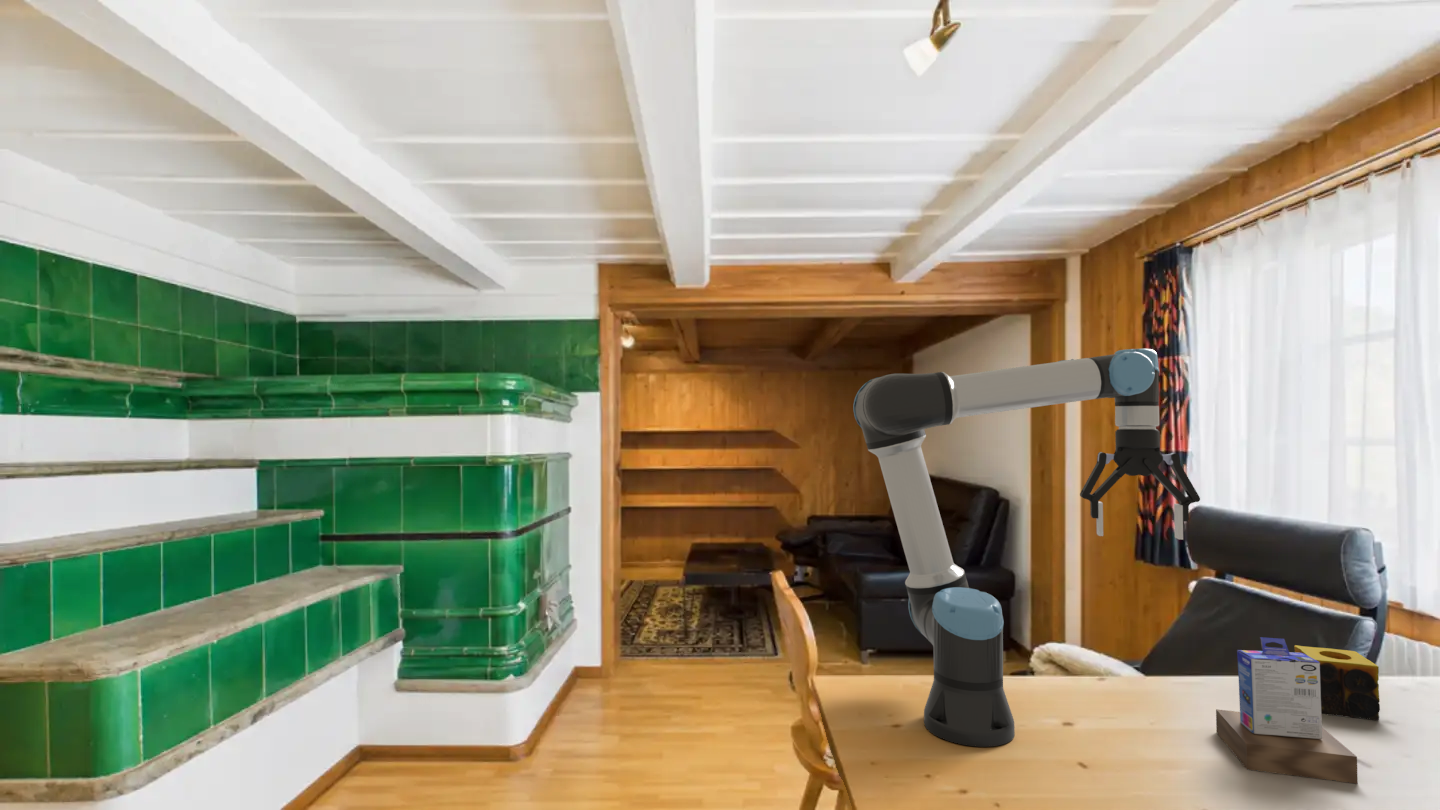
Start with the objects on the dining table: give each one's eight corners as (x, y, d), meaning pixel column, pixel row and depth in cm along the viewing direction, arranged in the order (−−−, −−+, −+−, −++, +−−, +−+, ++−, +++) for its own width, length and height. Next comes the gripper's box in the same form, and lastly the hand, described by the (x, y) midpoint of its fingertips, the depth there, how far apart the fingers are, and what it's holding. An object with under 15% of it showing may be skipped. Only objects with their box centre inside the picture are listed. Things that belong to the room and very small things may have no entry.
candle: (1312, 713, 133) (1311, 659, 133) (1292, 694, 142) (1290, 644, 142) (1382, 722, 129) (1380, 666, 129) (1356, 702, 138) (1355, 650, 139)
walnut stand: (1246, 769, 111) (1246, 743, 111) (1216, 732, 125) (1216, 709, 125) (1357, 783, 107) (1357, 756, 107) (1313, 743, 120) (1313, 719, 120)
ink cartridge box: (1304, 726, 118) (1302, 637, 118) (1325, 741, 112) (1323, 648, 113) (1236, 721, 120) (1235, 634, 120) (1253, 735, 114) (1251, 644, 115)
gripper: (1204, 428, 140) (1206, 537, 139) (1064, 427, 148) (1065, 531, 147) (1218, 428, 133) (1220, 543, 132) (1069, 428, 141) (1071, 536, 140)
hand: (1138, 537), depth 140 cm, fingers open, 13 cm apart
